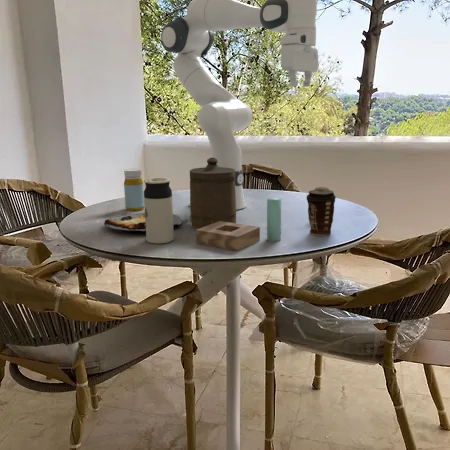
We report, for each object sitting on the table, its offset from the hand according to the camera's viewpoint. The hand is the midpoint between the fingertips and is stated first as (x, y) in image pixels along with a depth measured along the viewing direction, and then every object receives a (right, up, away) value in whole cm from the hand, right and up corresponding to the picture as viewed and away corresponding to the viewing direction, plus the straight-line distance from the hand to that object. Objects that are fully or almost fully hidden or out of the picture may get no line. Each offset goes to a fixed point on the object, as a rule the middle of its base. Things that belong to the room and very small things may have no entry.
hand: (300, 86), depth 154 cm
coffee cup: (+5, -46, -6) cm, 47 cm away
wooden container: (-28, -44, +6) cm, 52 cm away
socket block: (-23, -49, -13) cm, 55 cm away
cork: (+9, -42, +12) cm, 44 cm away
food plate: (-51, -45, +6) cm, 68 cm away
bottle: (-58, -38, +30) cm, 76 cm away
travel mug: (-43, -48, -11) cm, 66 cm away
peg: (-10, -48, -12) cm, 50 cm away
